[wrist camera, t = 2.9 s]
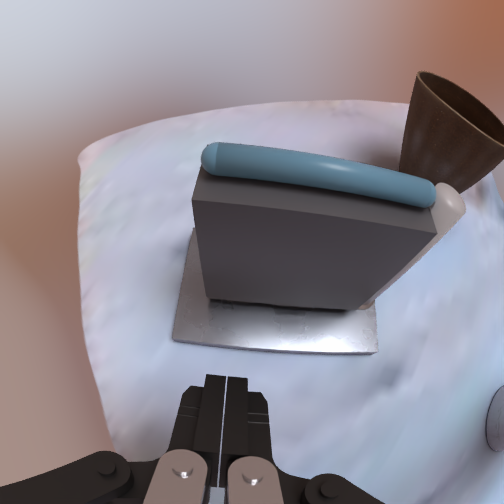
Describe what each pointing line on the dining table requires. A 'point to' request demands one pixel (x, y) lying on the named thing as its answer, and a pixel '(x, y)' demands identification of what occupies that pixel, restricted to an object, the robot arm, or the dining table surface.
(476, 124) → the plant pot
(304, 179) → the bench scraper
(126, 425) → the dining table surface
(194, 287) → the panel
